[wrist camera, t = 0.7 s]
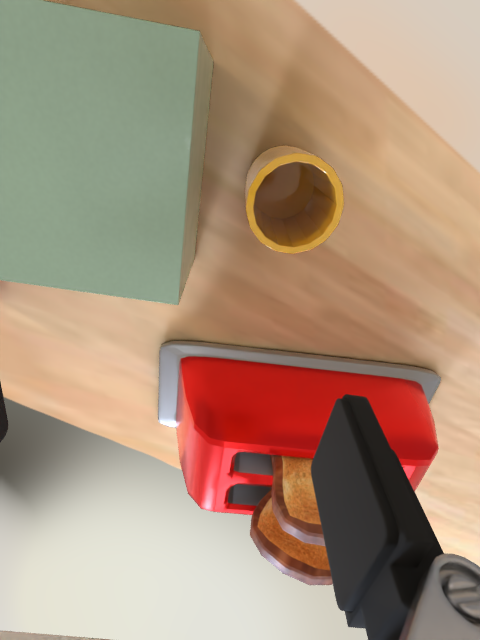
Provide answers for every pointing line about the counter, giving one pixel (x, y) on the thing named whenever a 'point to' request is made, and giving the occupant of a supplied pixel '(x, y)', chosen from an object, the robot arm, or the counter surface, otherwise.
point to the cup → (292, 199)
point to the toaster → (281, 434)
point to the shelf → (100, 150)
